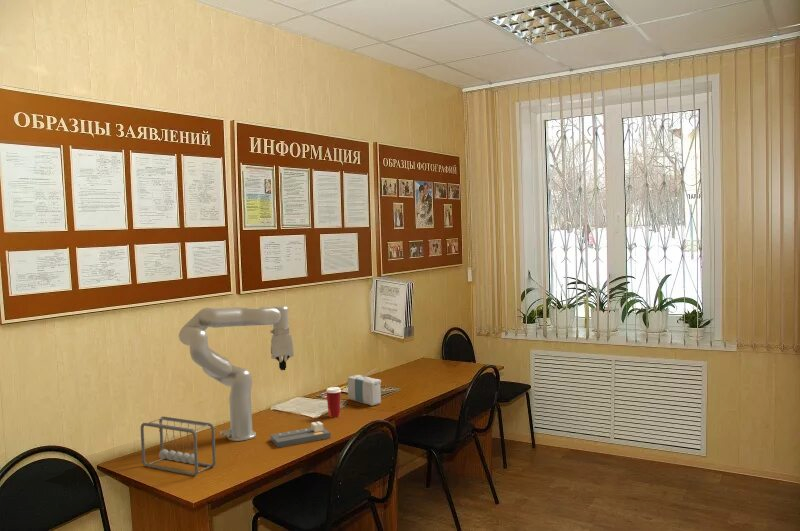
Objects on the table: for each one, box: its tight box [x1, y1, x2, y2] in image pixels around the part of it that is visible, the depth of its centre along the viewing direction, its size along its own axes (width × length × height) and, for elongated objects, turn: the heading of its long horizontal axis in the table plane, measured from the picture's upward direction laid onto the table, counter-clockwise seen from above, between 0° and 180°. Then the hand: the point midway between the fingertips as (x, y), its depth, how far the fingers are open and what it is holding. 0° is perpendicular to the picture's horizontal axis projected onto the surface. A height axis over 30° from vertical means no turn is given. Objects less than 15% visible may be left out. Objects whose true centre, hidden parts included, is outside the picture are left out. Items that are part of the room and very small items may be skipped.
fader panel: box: [269, 427, 331, 449], centre depth 273 cm, size 24×12×3 cm, turn 117°
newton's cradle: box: [140, 416, 217, 477], centre depth 244 cm, size 30×10×18 cm, turn 63°
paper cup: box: [325, 386, 342, 418], centre depth 308 cm, size 8×8×14 cm
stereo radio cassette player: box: [347, 366, 382, 407], centre depth 333 cm, size 21×8×20 cm, turn 42°
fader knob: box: [310, 421, 324, 432], centre depth 277 cm, size 4×5×3 cm
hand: (282, 369), depth 294 cm, fingers closed
